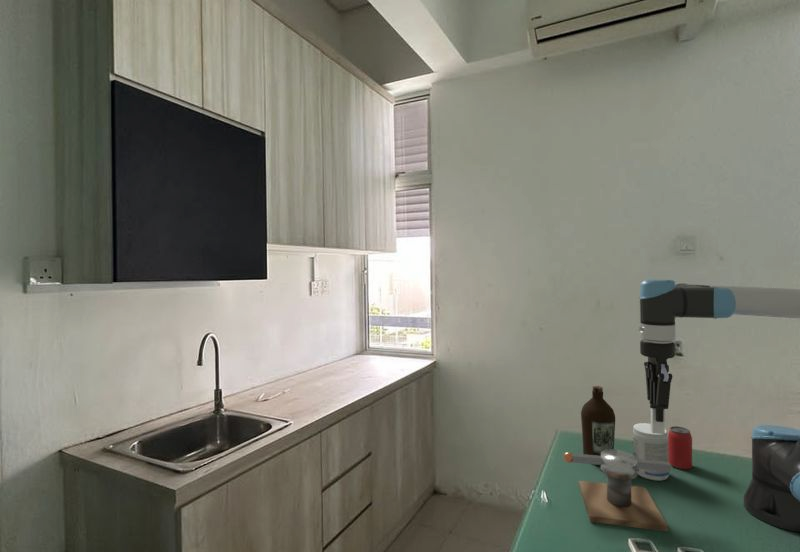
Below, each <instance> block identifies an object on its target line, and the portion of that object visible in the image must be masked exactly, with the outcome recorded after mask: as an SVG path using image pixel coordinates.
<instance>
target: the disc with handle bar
mask: <svg viewBox="0 0 800 552" xmlns="http://www.w3.org/2000/svg"><path fill="white" fill-rule="evenodd" d="M562 459H563V460H564V462H566V463H568V464H571V463H576V464H586V465H595V466H597V465H598V466H600V470H601V471H602V472H603V473H604V474H606V476H607V475H609V476H612V477H615V478H619V479H631V480H633V479H636V478H637V477H638V476H639V475H638V469H649V470H659V471H669V473H670V472H672V465H671V464H670V463H669V462H665V461H654V460H643V459H637V458H636V457H635V456H634V454H632V453H630V452H627V451H625V450H622V449H621V450H620V449H615V448H614V449H608V450H604V451H602V452H601V456H598V455H586V454H583V453H574V452H573V453H572V452H568V451H566V452H564V453H563V456H562ZM637 468H638V469H637Z"/></svg>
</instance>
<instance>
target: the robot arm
mask: <svg viewBox="0 0 800 552" xmlns="http://www.w3.org/2000/svg"><path fill="white" fill-rule="evenodd" d="M638 298H639V309H640V310H639V312H640V313H639V315H640V317H639V318H640V319H639V320H640V326H639V327H638V328H637V330H638V331H640V333H639V335H640V338H641V340H640V341H639V344H640V347H639V351H640V355H641V356H643V357H646V358H647V361H644V363H643V366H644V371H645V381H646V383H645V384H646V395H647V398H646V399H647V400H648V401H649V404H650V405H649V407H650V424H651V432H652V433H657V434H665V429H666V426H665V425H666V424H665V421H666V420H665V419H666V417H665V415H666V413H665V412H666V411H665V410H668V409H669V406H670V404H669V403H670V395H671V383H672V380H673V374H672V373H669V371H670V368H669V364H668V360H669V359H673V358H675V356H676V343H675V342H674V341H675V340H676V318H691V319H692V318H697V319H715V320H717V319H729V318H731V317H732V316H733V315H736V316H737V315H739V316H753V317H756V316H757V317H771V318H772V317H773V318H785V319H800V288H785V287H784V288H782V287H779V288H778V287H763V286H762V287H758V286H757V287H756V286H755V287H754V286H736V285H735V286H734V285H711V284H708V285H705V284H704V285H703V284H688V283H676V282H675V280H673V279H654V278H653V279H644V280H643V281H641V282H640V291H639V297H638ZM751 433H752V434H751V437H750V438H751V470H752V471H751V480H750V482H749V484H748V486H747V489H746V490H745V493H744V496H743V506H744V508H745V509H746V511H747V512H748V513H749V514H751V515H753V516H754V517H755V518H757V519H759V520H760V521H762V522H764V523H766V524H769V525H771V526H774V527H777V528H779V529H783V530H788V531H792V532H796V531H799V532H798V533H800V429H797V428H794V427H789V426H788V427H787V426H782V425H774V424H773V425H772V424H761V425H760V424H759V425H755V426H754V427H753V428H752V432H751Z"/></svg>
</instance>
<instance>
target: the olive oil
mask: <svg viewBox="0 0 800 552" xmlns="http://www.w3.org/2000/svg"><path fill="white" fill-rule="evenodd" d="M603 390H604V388H603V387H602V386H600V385H593V386H592V392H591V394H592V395H591V398H590V399H589V400H587V402H585V403H584V405H582V408H581V411H580V417H581V418H580V420H581V433H582V435H581V436H582V454H586V455H598V456H601V452H602V451H604V450H608V449H615V430H616V414H615V411H614V409H613V407H612V406H611V405H610V404H609V403H608V402H607V401H606V399H604V391H603Z"/></svg>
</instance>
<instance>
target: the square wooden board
mask: <svg viewBox="0 0 800 552" xmlns="http://www.w3.org/2000/svg"><path fill="white" fill-rule="evenodd" d="M578 487H579V490H580V493H581V497H582V501H583V504H584V507H585V510H586V513H587V516H588V519H589V523H597V524H607V525H612V526H621V527H629V528H630V527H631V528H637V529H645V530H653V531H661V532H669V531H668V530H669V528H668V527H669V525H668V524H667V522H666V521H665V518H664V517H663V515H662V514H661V511H659V508H658V507H657V505H656V504H655V501H654V500H653V498H652V497H651V495H650V493H649V492H648V489H646V487H645V486H634V485H632V479H619V478H615V477H612V476H609V475H607V474H606V483H605V482H595V481H588V480H587V481H586V480H578Z"/></svg>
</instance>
